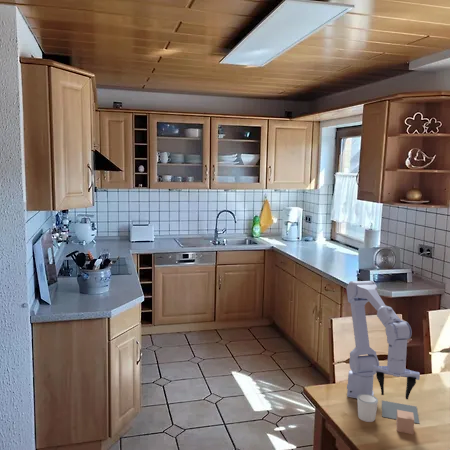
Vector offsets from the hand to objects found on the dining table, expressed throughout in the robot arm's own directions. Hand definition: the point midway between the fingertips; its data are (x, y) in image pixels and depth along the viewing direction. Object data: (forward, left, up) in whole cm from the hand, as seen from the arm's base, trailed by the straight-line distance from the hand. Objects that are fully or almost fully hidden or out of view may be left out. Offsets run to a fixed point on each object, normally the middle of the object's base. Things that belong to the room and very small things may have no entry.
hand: (394, 395), depth 146 cm
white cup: (-9, 0, -10) cm, 13 cm away
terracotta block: (+4, -3, -10) cm, 11 cm away
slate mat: (+3, +8, -10) cm, 13 cm away
